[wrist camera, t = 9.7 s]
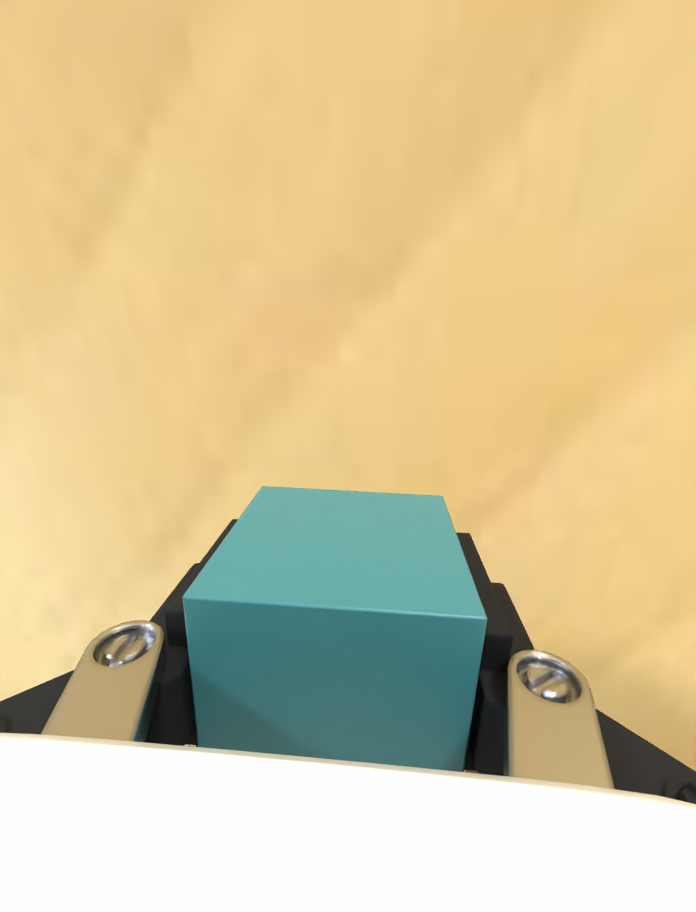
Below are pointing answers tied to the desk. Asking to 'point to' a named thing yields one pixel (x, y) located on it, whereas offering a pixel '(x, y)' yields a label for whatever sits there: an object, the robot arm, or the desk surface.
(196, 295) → the desk surface
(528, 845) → the robot arm
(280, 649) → the teal block
